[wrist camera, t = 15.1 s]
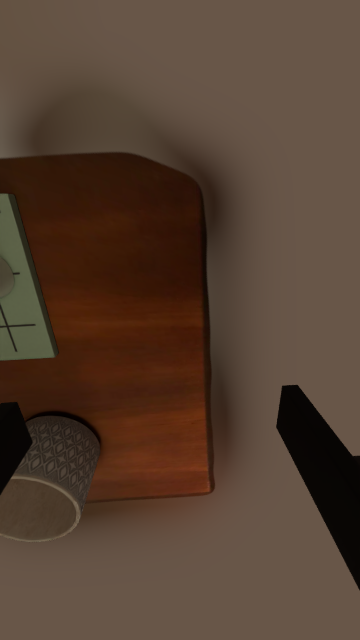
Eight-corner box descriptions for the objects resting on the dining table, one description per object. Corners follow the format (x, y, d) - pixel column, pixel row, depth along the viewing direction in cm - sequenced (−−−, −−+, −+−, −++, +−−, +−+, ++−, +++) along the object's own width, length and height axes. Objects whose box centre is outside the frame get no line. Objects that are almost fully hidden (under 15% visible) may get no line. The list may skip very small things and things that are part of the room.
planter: (91, 406, 45) (64, 471, 34) (109, 465, 52) (90, 537, 40) (6, 414, 45) (-52, 482, 34) (33, 472, 52) (-7, 546, 40)
